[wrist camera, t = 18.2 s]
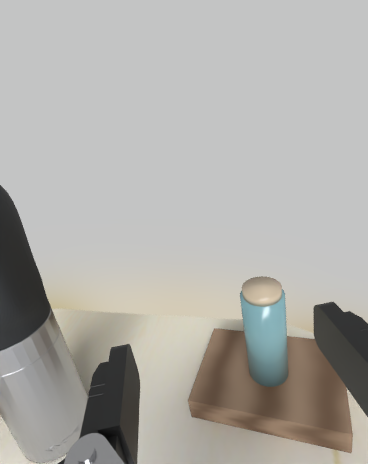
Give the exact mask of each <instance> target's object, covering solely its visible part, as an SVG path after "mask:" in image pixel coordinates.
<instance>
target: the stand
mask: <svg viewBox="0 0 368 464" xmlns="http://www.w3.org/2000/svg"><path fill="white" fill-rule="evenodd" d="M287 349H288V370H289V374H288V378H287V379H286V381H285V382H284V383H282V384H281V385H278V386H274V387H267V386H263V385H260V384H258V383H257V382H255V381H254V380H253V379H252V377H251V376H250V373H249V366H248V358H247V350H246V341H245V333H244V332H243V331H234V330H225V329H215V328H214V331H213V333H212V336H211V339H210V342H209V344H208V347H207V350H206V353H205V355H204V358H203V361H202V363H201V366H200V369H199V372H198V374H197V377H196V380H195V383H194V385H193V388H192V391H191V394H190V396H189V399H188V402H189V406H190V411H191V415H192V417H196V418H200V419H205V420H209V421H213V422H218V423H222V424H226V425H231V426H235V427H240V428H244V429H248V430H253V431H257V432H261V433H266V434H270V435H275V436H279V437H283V438H288V439H292V440H296V441H301V442H305V443H309V444H314V445H318V446H323V447H327V448H331V449H336V450H340V451H344V452H349V453H351V452H352V438H353V433H352V426H351V418H350V411H349V404H348V396H347V389H346V386H345V384H344V383H343V381H342V380H341V379H340V377H339V376H338V374H337V373H336V372H335V370H334V369H333V367H332V366H331V365H330V363H329V362H328V360H327V359H326V357H325V356H324V355H323V353H322V352H321V350H320V349H319V347H318V346H317V343H316V341H315V339H307V338H298V337H289V336H287Z"/></svg>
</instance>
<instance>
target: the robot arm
mask: <svg viewBox="0 0 368 464" xmlns="http://www.w3.org/2000/svg"><path fill="white" fill-rule="evenodd" d="M314 337H315V341H316V343H317V346H318V347H319V349H320V350H321V352H322V353H323V355H324V356H325V357H326V359H327V360H328V362H329V363H330V365H331V366H332V367H333V369H334V370H335V372H336V373H337V374H338V376H339V377H340V379H341V380H342V381H343V383H344V384H345V386H346V387H347V389H348V390H349V391H350V393H351V394H352V396H353V397H354V398H355V400H356V401H357V403H358V404H359V405H360V407H361V408H362V410H363V411H364V413H365V414H366V415H367V417H368V324H367V323H366V322H365V321H364V320H363V319H362V318H361V317H359V316H357V315H355V314H353V313H351V312H350V311H349V312H343V311H342V310H341V309H340V308H339V307H338V306H337V305H336V304H335V303H334V302H329V303H324V304H320V305H315V306H314ZM139 398H140V379H139V372H138V369H137V365H136V362H135V359H134V356H133V353H132V349H131V346H130V345H129V344H126V345H122V346H117V347H112V348H111V350H110V356H109V362H104V363H100V364H99V366H98V368H97V369H96V371H95V372H94V374H93V377H92V382H91V388H90V391H89V398H88V396H87V393H86V391H85V388H84V386H83V383H82V381H81V378H80V376H79V374H78V371H77V369H76V366H75V364H74V362H73V359H72V357H71V354H70V352H69V349H68V347H67V345H66V342H65V340H64V337H63V335H62V333H61V330H60V328H59V325H58V323H57V321H56V319H55V316H54V314H53V311H52V309H51V306H50V304H49V301H48V299H47V297H46V294H45V290H44V286H43V283H42V279H41V277H40V274H39V271H38V268H37V266H36V263H35V261H34V258H33V255H32V252H31V249H30V246H29V243H28V240H27V237H26V234H25V231H24V228H23V225H22V222H21V220H20V217H19V214H18V212H17V209H16V207H15V205H14V203H13V201H12V199H11V198H10V196H9V194H8V193H7V192H6V191H5V189H4V188H3V187H2V186H1V185H0V415H1V416H2V418H3V420H4V421H5V423H6V425H7V427H8V428H9V430H10V432H11V434H12V435H13V437H14V439H15V440H16V442H17V444H18V445H19V447H20V449H21V450H22V452H23V454H24V455H25V457H26V458H27V459H29V460H30V461H33V462H36V463H45V462H49V461H53V460H55V459H57V458H60V457H62V456H63V455H65V454H66V453H67V455H66V458H65V459H64V460H62V461H61V462H60V463H58V464H137V452H138V425H139Z"/></svg>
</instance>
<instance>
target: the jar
mask: <svg viewBox="0 0 368 464" xmlns="http://www.w3.org/2000/svg"><path fill="white" fill-rule="evenodd" d="M240 298H241V306H242V316H243V324H244V333H245V341H246V350H247V358H248V366H249V373H250V376H251V377H252V379H253V380H254V381H255V382H257V383H258V384H260V385H263V386H267V387H274V386H278V385H281V384H282V383H284V382H285V381H286V379H287V378H288V374H289V370H288V349H287V329H286V310H285V309H286V308H285V293H284V291H283V289H282V286H281V284H280V283H279V282H278V281H277V280H275V279H273V278H269V277H255V278H251V279H249V280H247V281H246V282H245V283H244V284H243V286H242V291H241V293H240Z"/></svg>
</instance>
